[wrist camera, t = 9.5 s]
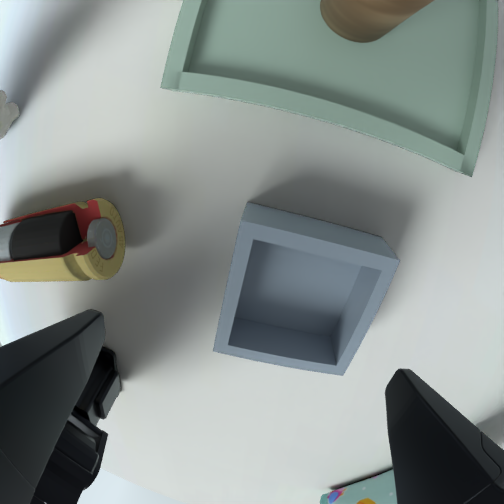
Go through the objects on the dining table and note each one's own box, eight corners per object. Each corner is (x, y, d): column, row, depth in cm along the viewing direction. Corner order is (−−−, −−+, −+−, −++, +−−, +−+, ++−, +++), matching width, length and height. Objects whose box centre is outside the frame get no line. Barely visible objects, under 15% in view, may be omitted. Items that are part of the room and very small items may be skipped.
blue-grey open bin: (221, 318, 22) (212, 351, 18) (247, 202, 18) (240, 220, 15) (336, 342, 22) (342, 375, 19) (381, 236, 18) (400, 260, 15)
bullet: (116, 188, 19) (74, 210, 14) (133, 258, 21) (99, 295, 16) (-4, 217, 20) (-42, 238, 16) (12, 268, 22) (-22, 294, 18)
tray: (172, 90, 16) (160, 87, 14) (228, -85, 10) (223, -101, 8) (455, 171, 16) (471, 177, 14) (482, -2, 10) (497, -9, 9)
